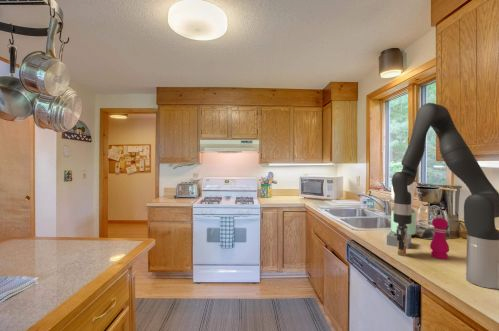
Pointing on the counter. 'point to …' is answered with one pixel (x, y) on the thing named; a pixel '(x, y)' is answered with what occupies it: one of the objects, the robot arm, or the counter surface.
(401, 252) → the peg
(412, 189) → the juicer
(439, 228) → the pepper mill
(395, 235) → the socket block
